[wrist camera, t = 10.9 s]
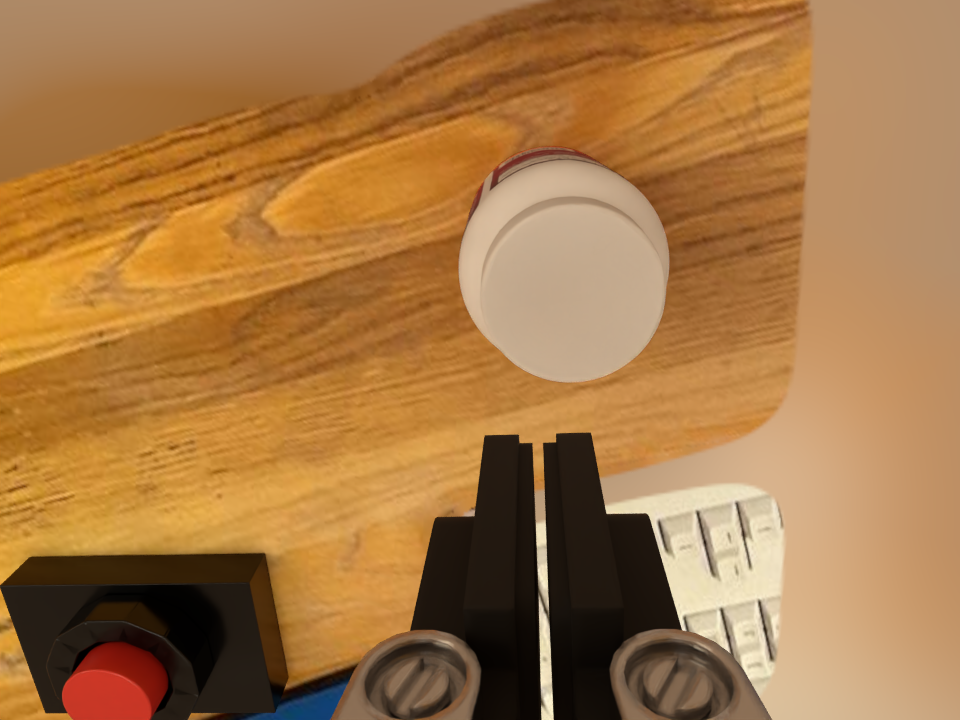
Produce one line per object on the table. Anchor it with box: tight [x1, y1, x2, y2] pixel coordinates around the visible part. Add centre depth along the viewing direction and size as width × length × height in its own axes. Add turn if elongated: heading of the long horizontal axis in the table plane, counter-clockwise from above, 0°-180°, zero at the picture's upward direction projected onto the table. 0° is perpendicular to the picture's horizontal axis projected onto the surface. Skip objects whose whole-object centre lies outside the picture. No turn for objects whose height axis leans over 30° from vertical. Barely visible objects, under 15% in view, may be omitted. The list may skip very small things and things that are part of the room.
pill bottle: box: [459, 146, 669, 383], centre depth 22 cm, size 6×6×11 cm
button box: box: [0, 554, 288, 720], centre depth 34 cm, size 12×8×4 cm, turn 93°
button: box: [62, 642, 168, 720], centre depth 31 cm, size 4×4×2 cm
